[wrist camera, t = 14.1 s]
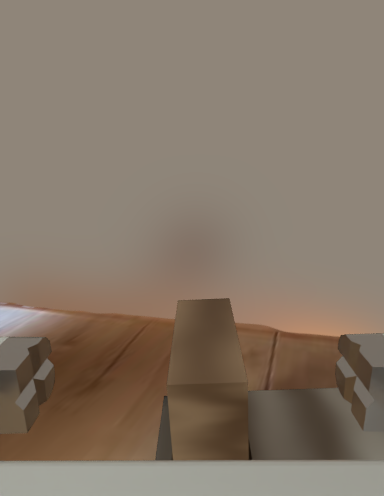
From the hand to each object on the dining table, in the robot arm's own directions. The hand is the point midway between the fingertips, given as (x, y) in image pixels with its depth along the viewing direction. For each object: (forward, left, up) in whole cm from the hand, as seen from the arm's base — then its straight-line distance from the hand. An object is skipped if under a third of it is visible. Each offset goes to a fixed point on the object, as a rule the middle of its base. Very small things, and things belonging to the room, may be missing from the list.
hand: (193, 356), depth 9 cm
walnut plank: (0, +11, -19) cm, 22 cm away
